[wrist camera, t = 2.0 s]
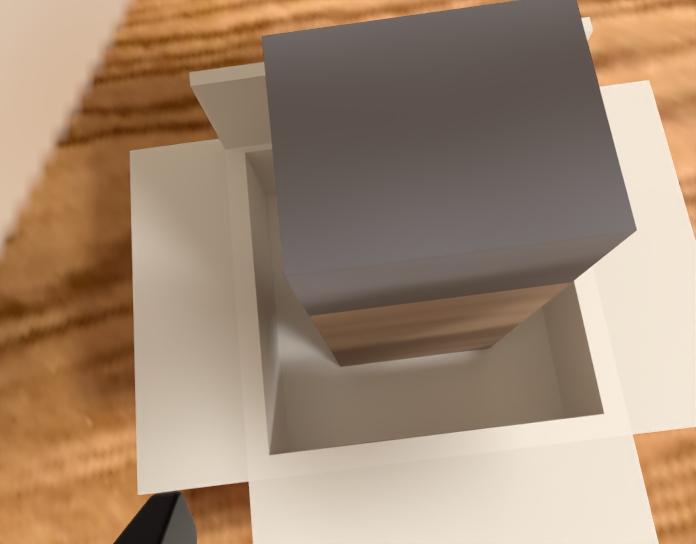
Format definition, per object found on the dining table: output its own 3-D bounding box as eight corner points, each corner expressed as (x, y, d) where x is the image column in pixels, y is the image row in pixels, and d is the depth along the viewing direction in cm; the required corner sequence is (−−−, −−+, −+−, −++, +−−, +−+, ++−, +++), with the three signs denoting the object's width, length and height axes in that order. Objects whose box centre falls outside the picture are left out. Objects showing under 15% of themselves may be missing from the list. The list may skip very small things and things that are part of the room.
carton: (709, 555, 18) (920, 634, 11) (191, 617, 19) (71, 731, 12) (602, 141, 22) (709, 0, 15) (172, 198, 23) (73, 88, 15)
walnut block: (489, 348, 20) (636, 229, 8) (340, 367, 20) (283, 276, 8) (468, 235, 21) (574, -8, 9) (327, 253, 21) (261, 35, 10)
